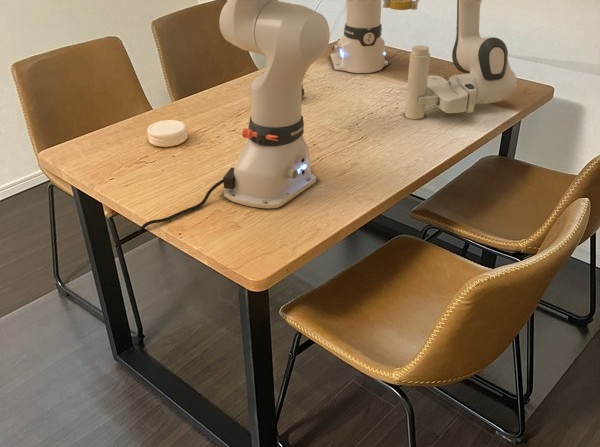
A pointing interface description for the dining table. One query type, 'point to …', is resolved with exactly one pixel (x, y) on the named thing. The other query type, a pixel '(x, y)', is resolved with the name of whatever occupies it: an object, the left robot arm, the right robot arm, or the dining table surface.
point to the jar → (417, 81)
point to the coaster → (167, 133)
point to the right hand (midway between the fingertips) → (413, 96)
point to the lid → (400, 4)
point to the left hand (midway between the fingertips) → (400, 8)
